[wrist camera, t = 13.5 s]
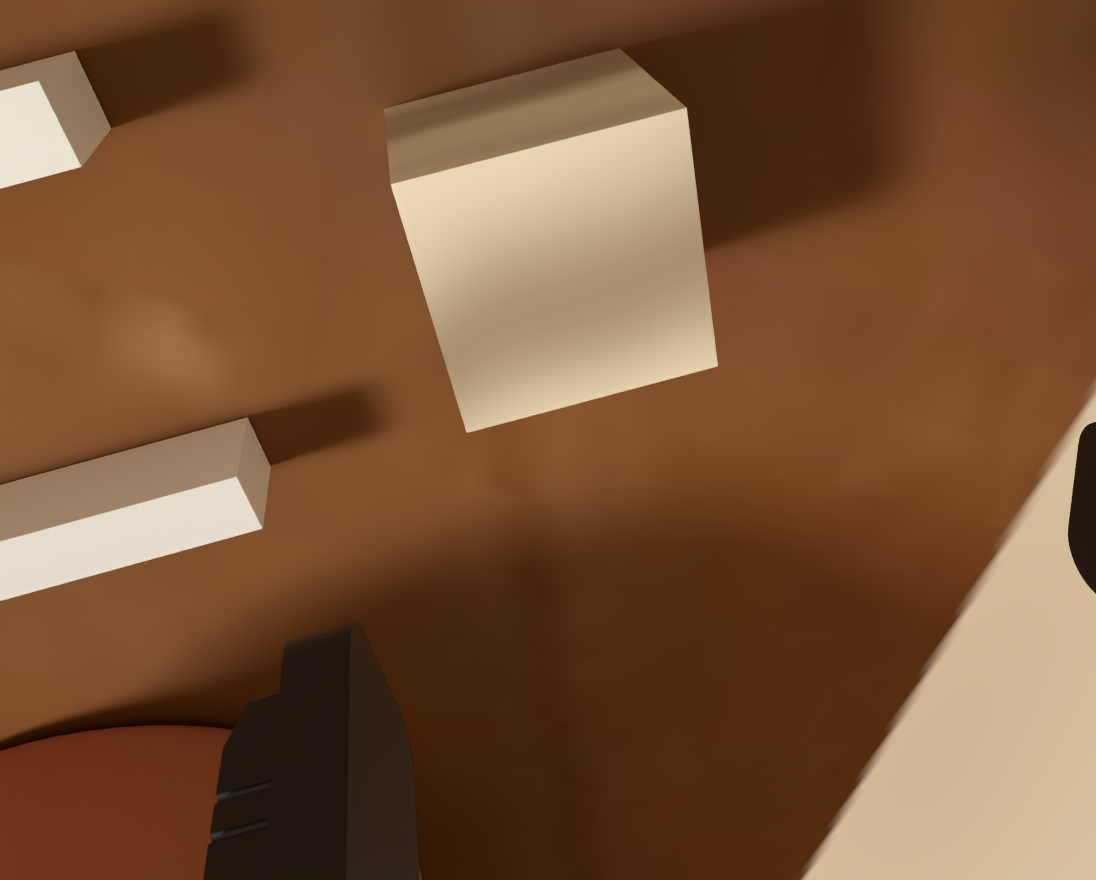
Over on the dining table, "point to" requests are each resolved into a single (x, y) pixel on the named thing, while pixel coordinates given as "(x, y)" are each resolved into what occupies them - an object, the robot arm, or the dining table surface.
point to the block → (554, 235)
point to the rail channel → (129, 476)
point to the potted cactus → (110, 804)
